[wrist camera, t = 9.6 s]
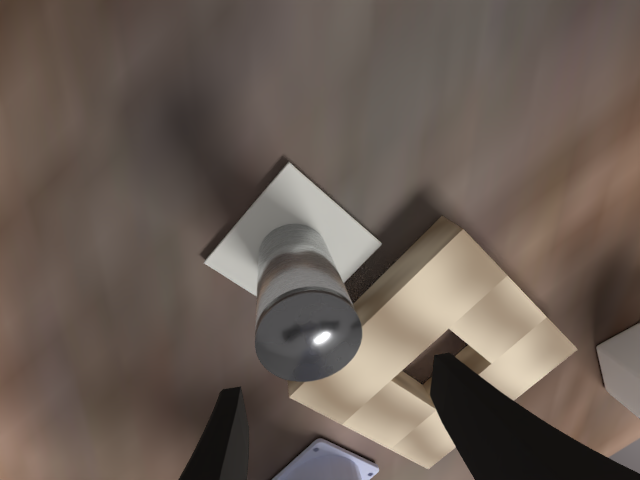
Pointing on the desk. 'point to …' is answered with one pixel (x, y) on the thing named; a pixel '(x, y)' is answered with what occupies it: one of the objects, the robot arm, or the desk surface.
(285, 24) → the desk surface
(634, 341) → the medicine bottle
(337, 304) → the end cover
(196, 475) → the robot arm
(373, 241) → the mat
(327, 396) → the bore block
